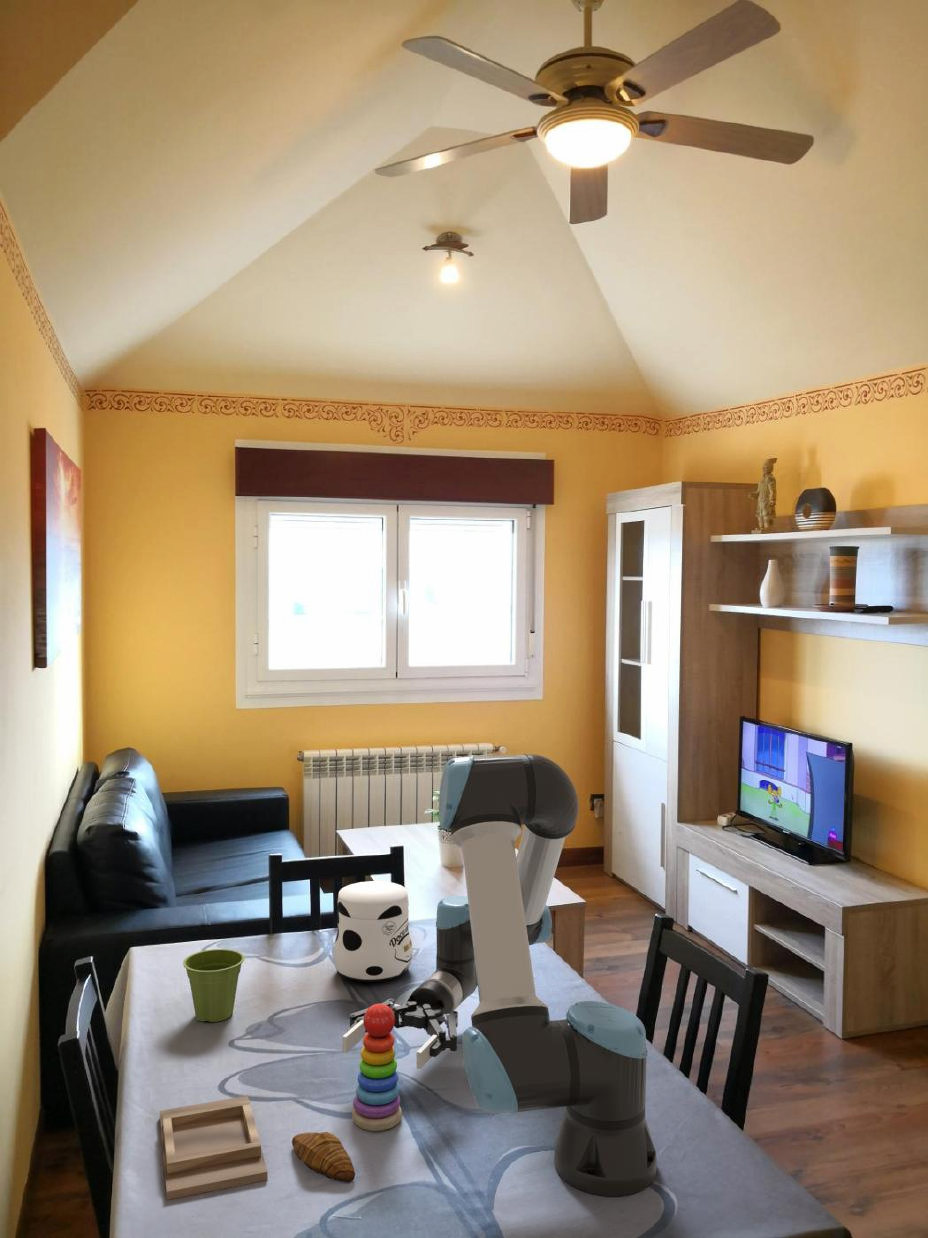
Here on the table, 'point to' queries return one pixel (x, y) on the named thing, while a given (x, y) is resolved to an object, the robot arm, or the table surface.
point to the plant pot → (214, 982)
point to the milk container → (372, 931)
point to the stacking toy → (377, 1073)
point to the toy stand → (210, 1147)
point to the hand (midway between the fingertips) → (380, 1052)
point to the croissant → (324, 1155)
